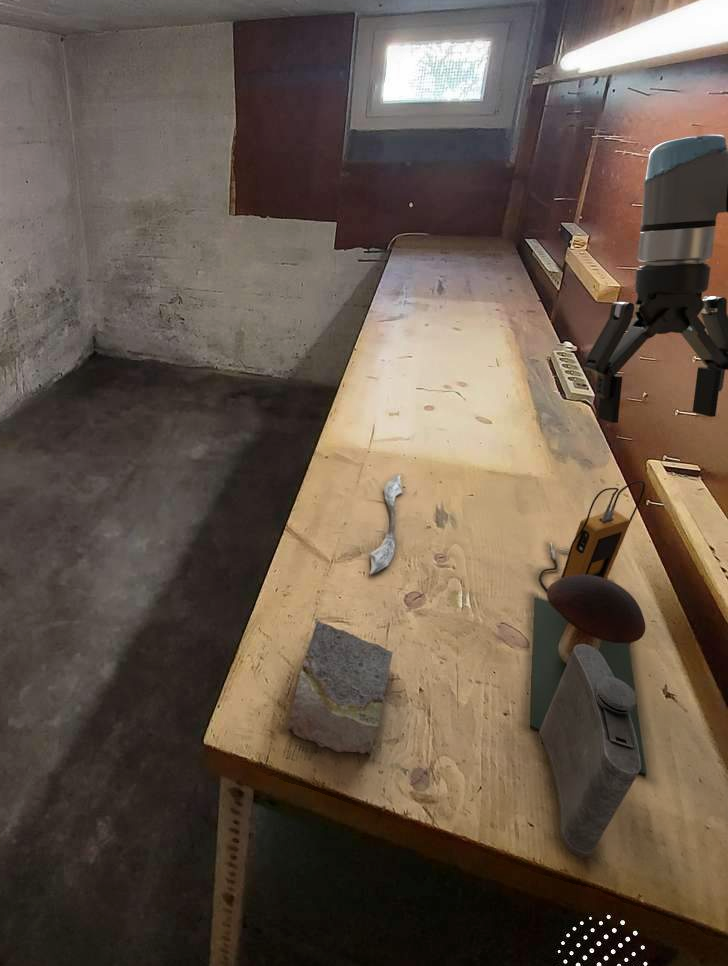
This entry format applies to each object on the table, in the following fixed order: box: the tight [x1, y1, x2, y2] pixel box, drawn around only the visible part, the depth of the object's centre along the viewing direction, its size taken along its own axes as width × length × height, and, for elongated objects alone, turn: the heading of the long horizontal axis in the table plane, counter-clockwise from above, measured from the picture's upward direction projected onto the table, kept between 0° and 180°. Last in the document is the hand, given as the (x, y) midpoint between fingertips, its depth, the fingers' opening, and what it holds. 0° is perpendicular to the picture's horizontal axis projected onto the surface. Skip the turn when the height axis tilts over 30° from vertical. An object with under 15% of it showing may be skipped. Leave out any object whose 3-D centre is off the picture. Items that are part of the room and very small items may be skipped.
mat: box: [529, 596, 647, 776], centre depth 78 cm, size 12×24×1 cm, turn 150°
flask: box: [539, 644, 641, 858], centre depth 61 cm, size 4×14×18 cm, turn 161°
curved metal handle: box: [369, 473, 404, 575], centre depth 108 cm, size 32×1×5 cm
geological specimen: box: [287, 620, 393, 756], centre depth 75 cm, size 11×6×15 cm
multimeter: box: [538, 480, 646, 592], centre depth 92 cm, size 15×10×20 cm
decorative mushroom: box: [546, 574, 646, 664], centre depth 76 cm, size 11×11×15 cm
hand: (655, 417), depth 79 cm, fingers open, 13 cm apart
